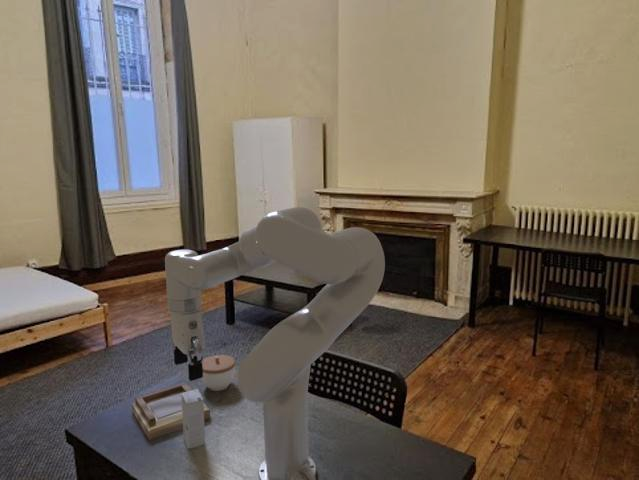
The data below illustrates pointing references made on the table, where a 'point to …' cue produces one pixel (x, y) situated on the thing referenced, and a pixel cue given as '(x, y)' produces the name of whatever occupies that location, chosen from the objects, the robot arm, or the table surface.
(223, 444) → the table surface
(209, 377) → the lidded jar
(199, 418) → the skincare box
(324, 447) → the table surface
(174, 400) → the frame
